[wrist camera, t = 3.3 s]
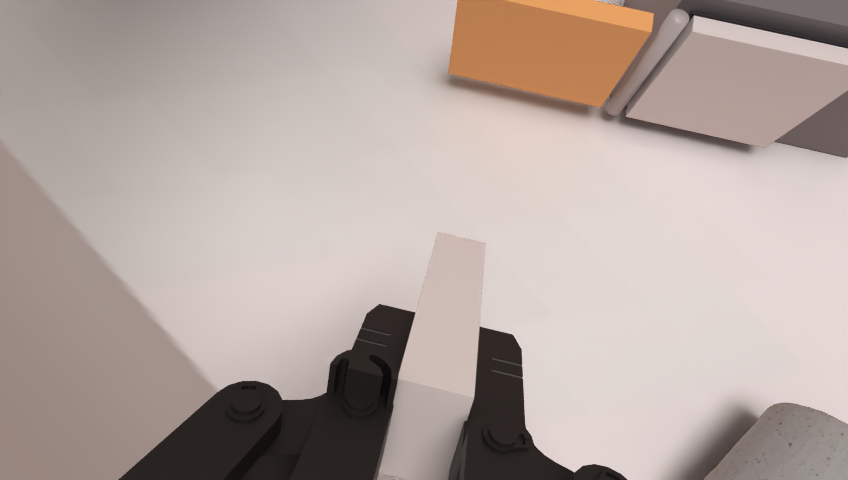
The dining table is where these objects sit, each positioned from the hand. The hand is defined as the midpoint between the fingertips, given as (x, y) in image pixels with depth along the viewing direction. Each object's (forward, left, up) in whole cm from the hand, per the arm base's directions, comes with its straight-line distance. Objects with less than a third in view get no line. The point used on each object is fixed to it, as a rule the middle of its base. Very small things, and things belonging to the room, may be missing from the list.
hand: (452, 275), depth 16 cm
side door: (+8, +17, -13) cm, 23 cm away
